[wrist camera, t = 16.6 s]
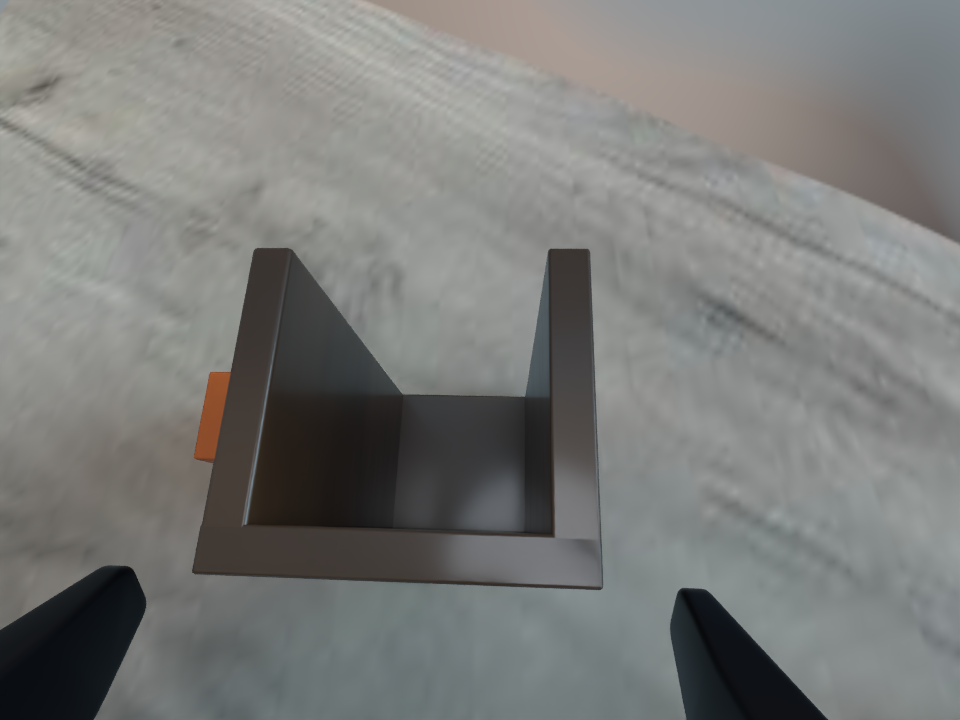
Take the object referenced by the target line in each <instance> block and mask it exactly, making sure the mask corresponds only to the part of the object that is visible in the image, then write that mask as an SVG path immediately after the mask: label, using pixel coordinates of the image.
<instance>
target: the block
mask: <svg viewBox="0 0 960 720" xmlns="http://www.w3.org/2000/svg"><path fill="white" fill-rule="evenodd" d="M230 374H231V372H211V373H210V375H209V380H208V385H207V390H206V396H205V401H204V406H203V412H202V417H201V422H200V427H199V433H198V438H197V443H196V449H195V454H194V458H195V459H197V460H202V461H206V462H210V463H214V458H215V453H216V448H217V443H218V437H219V432H220V427H221V421H222V416H223V411H224V406H225V400H226V395H227V390H228V384H229V379H230Z"/></svg>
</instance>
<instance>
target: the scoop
mask: <svg viewBox="0 0 960 720" xmlns="http://www.w3.org/2000/svg"><path fill="white" fill-rule="evenodd" d="M192 572H193V573H194V574H201V575H227V576H252V577H278V578H304V579H329V580H355V581H380V582H406V583H432V584H457V585H483V586H509V587H534V588H560V589H586V590H601V589H602V588H603V569H602V544H601V520H600V494H599V469H598V443H597V417H596V392H595V366H594V341H593V315H592V289H591V264H590V251H589V249H549V251H548V255H547V262H546V268H545V275H544V281H543V287H542V294H541V300H540V307H539V313H538V319H537V326H536V332H535V339H534V345H533V351H532V358H531V364H530V371H529V377H528V384H527V390H526V396H525V397H503V396H452V395H402V393H401V392H400V391H399V390H398V388H397V387H396V386H395V384H394V383H393V382H392V380H391V379H390V378H389V376H388V375H387V374H386V372H385V371H384V370H383V368H382V367H381V366H380V365H379V363H378V362H377V361H376V359H375V358H374V357H373V355H372V354H371V353H370V351H369V350H368V349H367V347H366V346H365V345H364V344H363V342H362V341H361V340H360V338H359V337H358V336H357V334H356V333H355V332H354V330H353V329H352V328H351V326H350V325H349V324H348V322H347V321H346V320H345V319H344V317H343V316H342V315H341V313H340V312H339V311H338V309H337V308H336V307H335V305H334V304H333V303H332V301H331V300H330V299H329V297H328V296H327V295H326V294H325V292H324V291H323V290H322V288H321V287H320V286H319V284H318V283H317V282H316V280H315V279H314V278H313V276H312V275H311V274H310V272H309V271H308V270H307V269H306V267H305V266H304V265H303V263H302V262H301V261H300V259H299V258H298V257H297V255H296V254H295V253H294V251H293V250H291V249H288V248H257V249H255V250H254V252H253V257H252V263H251V268H250V273H249V279H248V284H247V289H246V294H245V300H244V305H243V310H242V316H241V321H240V326H239V332H238V337H237V342H236V347H235V353H234V358H233V363H232V369H231V374H230V379H229V384H228V390H227V395H226V400H225V406H224V411H223V416H222V421H221V427H220V432H219V437H218V443H217V448H216V453H215V458H214V464H213V469H212V474H211V480H210V485H209V490H208V495H207V501H206V506H205V511H204V517H203V522H202V525H201V527H200V532H199V538H198V543H197V548H196V553H195V559H194V564H193V569H192Z"/></svg>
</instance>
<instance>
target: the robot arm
mask: <svg viewBox="0 0 960 720" xmlns="http://www.w3.org/2000/svg"><path fill="white" fill-rule="evenodd" d="M145 609H146V598H145V595H144V593H143V590H142V588H141V586H140V583H139V581H138V579H137V576H136V574H135V572H134V570H133V569H132V568H130V567H128V566H113V565H109V566H104V567H101V568H99V569H97V570H96V571H94V572H93V573H91V574H89V575H88V576H86V577H85V578H83V579H81V580H80V581H78V582H77V583H75V584H73V585H72V586H70V587H69V588H67V589H65V590H64V591H62V592H61V593H59V594H57V595H56V596H54V597H53V598H51V599H49V600H48V601H46V602H45V603H43V604H41V605H40V606H38V607H37V608H35V609H33V610H32V611H30V612H29V613H27V614H25V615H24V616H22V617H21V618H19V619H17V620H16V621H14V622H13V623H11V624H9V625H8V626H6V627H5V628H3V629H1V630H0V720H94V718H95V716H96V715H97V713H98V711H99V709H100V707H101V705H102V703H103V701H104V699H105V697H106V695H107V693H108V691H109V688H110V686H111V684H112V682H113V680H114V678H115V676H116V673H117V671H118V669H119V667H120V665H121V663H122V661H123V658H124V656H125V654H126V652H127V650H128V648H129V646H130V643H131V641H132V639H133V637H134V635H135V633H136V631H137V628H138V626H139V624H140V622H141V620H142V618H143V615H144V613H145ZM670 632H671V640H672V645H673V650H674V656H675V661H676V666H677V672H678V677H679V682H680V687H681V693H682V698H683V703H684V708H685V714H686V719H687V720H828V719H827V718H826V717H825V716H824V715H823V714H822V713H821V712H820V711H819V710H818V709H817V707H816V706H815V705H814V704H813V703H812V702H811V701H810V700H809V699H808V698H807V697H806V696H805V695H804V693H803V692H802V691H801V690H800V689H799V688H798V687H797V686H796V685H795V684H794V683H793V682H792V681H791V679H790V678H789V677H788V676H787V675H786V674H785V673H784V672H783V671H782V670H781V669H780V668H779V667H778V665H777V664H776V663H775V662H774V661H773V660H772V659H771V658H770V657H769V656H768V655H767V654H766V653H765V651H764V650H763V649H762V648H761V647H760V646H759V645H758V644H757V643H756V642H755V641H754V640H753V639H752V637H751V636H750V635H749V634H748V633H747V632H746V631H745V630H744V629H743V628H742V627H741V626H740V625H739V624H738V622H737V621H736V620H735V619H734V618H733V617H732V616H731V615H730V614H729V613H728V612H727V611H726V610H725V608H724V607H723V606H722V605H721V604H720V603H719V602H718V601H717V600H716V599H715V598H714V597H713V596H712V594H710V593H709V592H708V591H706V590H704V589H694V588H682V589H680V590H679V591H678V593H677V597H676V601H675V605H674V610H673V614H672V618H671V623H670Z"/></svg>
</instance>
